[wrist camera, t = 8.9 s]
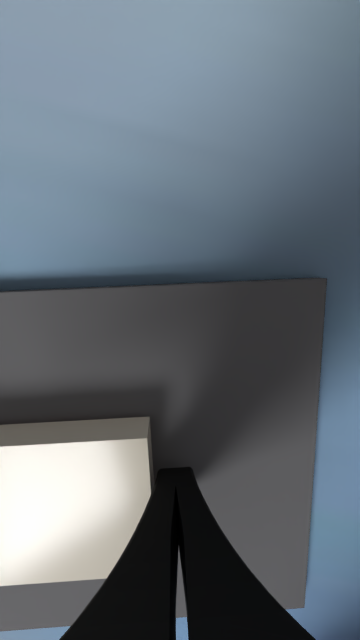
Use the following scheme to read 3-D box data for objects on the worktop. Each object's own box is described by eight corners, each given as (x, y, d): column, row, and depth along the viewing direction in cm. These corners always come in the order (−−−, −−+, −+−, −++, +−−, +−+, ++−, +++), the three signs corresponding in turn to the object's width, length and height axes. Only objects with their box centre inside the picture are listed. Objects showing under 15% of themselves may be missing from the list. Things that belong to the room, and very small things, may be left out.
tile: (156, 575, 11) (-27, 587, 11) (158, 535, 13) (-2, 546, 13) (147, 438, 10) (-60, 450, 10) (150, 413, 12) (-28, 423, 11)
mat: (298, 593, 15) (304, 607, 14) (-22, 618, 14) (-30, 633, 14) (318, 277, 11) (326, 278, 11) (-101, 295, 11) (-117, 297, 10)
